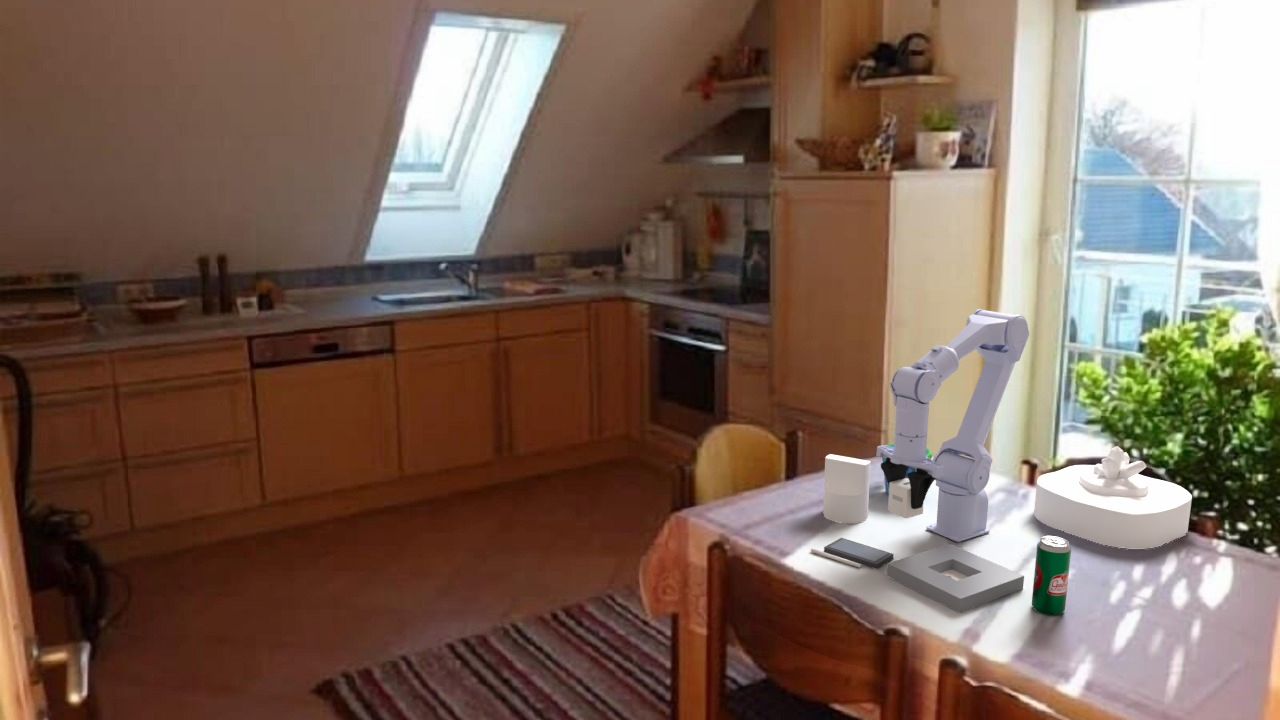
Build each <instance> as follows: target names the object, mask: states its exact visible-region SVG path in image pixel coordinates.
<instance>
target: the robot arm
mask: <svg viewBox="0 0 1280 720" xmlns="http://www.w3.org/2000/svg"><path fill="white" fill-rule="evenodd" d="M1026 319H1027V318H1026V317H1025V316H1023V315H1022V314H1011V313H1004V312H998V311H991V310H986V309H984V308H978V309H975V311H973V313H972V314H970V315H969V316H967V319H966V324H965V327H964V328H963V329H962V330H961V331H960V332H959V333H958V334H957V335H956V336H955V337H954V338H952V340H951V341H950V342H948V343H947V345H934V346H933V347H931V349H930V350H929V351H928V352H927V353H926V354H925V355H923V356H922V357H921V358H919V359H918V360H917V361H916V362H915V363H913V364H911V365H910V366H902V367H901V368H899V369H897V370H896V371H895V372H894V373H893V376H892V379H891V382H890V383H889V387H890V389H889V390H890V391H891V393H892V396H893V404H894V406H895V419H894V420H895V421H894V422H895V423H894V438H893V439H894V440H893V444H894V447H889V446H886V445H887V444H883V445H878V446H877V447H876V457H878V458H882V457H884V458H886V461H885V462H883V461H882V462H880V469H881V470H882V472H883V475H884V474H885V476H886V479H887V482H888V485H889V483H890V482H893V481H897V480H901V479H905V476H906V472H907V469H908V466H909V467H911V468H914V469H916V472H911V473H908V478H909V482H910V487H911V508H912V509H918V508H921V507H922V505H923V506H924V502H925V499H926V496H927V494H928V491H929V490H930V488H931V486H932V484H933V483H934V481H935V486H937V487H938V498H937V511H936V512H937V513H936V523H934V524H929V525H927V526H926V530H928V531H930V532H933V533H935V534H938V535H940V536H942V537H945V538H947V539H950V540H952V541H954V542H957V543H959V542H960V543H961V542H963V541H967V540H970V539H973V538H975V537H978V536H981V535H985V534H988V533H990V529H989V528H987V522H988V521H987V520H988V512H989V511H988V509H989V498H988V495H987V491H986V490H985V488H986V486H987V485H988V483H989V481H990V471H991V470H990V469H991V466H992V463H993V458H992V457H991V455H990V454H989V452H988V450H987V449H986V447H985V444H986V441H987V439H988V436H989V433H990V430H991V427H992V424H993V422H994V420H995V417H996V414H997V412H998V409H999V406H1000V404H1001V402H1002V398H1003V396H1004V394H1005V391H1006V388H1007V386H1008V383H1009V380H1010V378H1011V376H1012V373H1013V370H1014V367H1015V364H1016V363H1017V362H1019V361H1020V359H1021V358H1022V355H1023V351H1024V349H1025V346H1026V344H1027V341H1028V339H1029V336H1030V331H1029V326H1028V325H1029V324H1028V321H1027V320H1026ZM975 350H976V351H977V353H978V354H979V355H980V356H982V357H983V360H984V365H983V366H982V369H981V372H980V375H979V377H978V380H977V382H976V385H975V388H974V390H973V393H972V396H971V397H970V400H969V403H968V406H967V408H966V411H965V413H964V416H963V419H962V421H961V425H960V427H959V429H958V432H957V435H956V436H954V437H952V438H949V439H947V440H945V441H943V442H942V443H941V446H940V448H939V450H938V451H937V453H936V454H935V455H934V456H933V457H932V458H931V459H930V458H929V457H927V456H926V448H927V443H928V427H929V412H930V402H931V401H933V400H934V399H935V397H936V395H937V394H938V390H939V388H941V386H942V383H943V382H944V381H946V380H947V379H948V378H949V377H950V376H951V375H952V374H954V373H955V372H956V371H957V370H958V369H959V364H960V362H959V361H960V360H962V359H963V358H964V357H966V356H968V355H969V354H970V353H972V352H973V351H975Z"/></svg>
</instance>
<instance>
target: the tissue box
mask: <svg viewBox="0 0 1280 720" xmlns="http://www.w3.org/2000/svg"><path fill="white" fill-rule="evenodd" d="M1130 459H1131V458H1130V456H1129V453H1127V452H1124V450H1123V449H1122V448H1120V447H1119V446H1118V445H1117V446H1114V447H1113V448H1111V449H1110V451H1109V453H1108V455H1107V456H1106V458H1102V459H1101V463H1096V464H1075V465H1070V466H1067V467H1064V468H1062V469H1060V470H1057V471H1052V472H1047V473H1044V474H1041V475H1040V476H1038V478H1037V480H1036V488H1035V489H1036V491H1035V500H1034V510H1033V511H1034V512H1033V515H1034V518H1035V519H1036V520H1038V521H1039V522H1040V523H1042V524H1043V525H1045V524H1046V525H1045V526H1048V527H1050V528H1053V529H1056V530H1057V529H1058V531H1060V530H1061V532H1063V531H1064V533H1066V534H1068V535H1071V534H1072V536H1074V535H1075V537H1077V536H1078V537H1077V538H1080V537H1081V538H1080V539H1083V538H1084V539H1083V540H1085V539H1087V540H1086V541H1088V540H1090V541H1089V542H1091V541H1093V542H1092V543H1094V542H1096V543H1095V544H1097V543H1099V544H1098V545H1101V544H1102V545H1101V546H1105V545H1108V546H1107V547H1109V546H1114V547H1125V548H1150V547H1155V546H1158V545H1161V544H1163V543H1166V542H1168V541H1170V540H1172V539H1174V538H1176V537H1178V536H1180V535H1182V534H1185V533H1187V534H1188V530H1189V523H1190V515H1191V507H1192V500H1193V495H1192V494H1191V493H1190V492H1189V491H1188V490H1187V489H1185V488H1184V487H1182V486H1181V485H1178V484H1176V483H1174V482H1170V481H1166V480H1163V479H1162V480H1161V479H1158V478H1153V477H1149V476H1145V475H1142V474H1139V473H1140V472H1142V471H1143V470H1144V469H1146V468H1147V467H1148V466H1147V464H1146V463H1145V462H1144V461H1143V460H1137V461H1133V462H1131V463H1130ZM1114 547H1113V548H1114Z"/></svg>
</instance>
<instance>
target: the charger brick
mask: <svg viewBox="0 0 1280 720" xmlns="http://www.w3.org/2000/svg"><path fill="white" fill-rule="evenodd" d="M887 502H888V504H887V511H888V512H890V513H892V514H894V515H896V516H899V517H901V518H903V519H909V518H914V517H916V516H920V515H923V514H924V504H923V505H922V507H921V508H918V509H912V508H911V487H910V482H909V479H908V478H905V479H901V480H897V481H893V482H890V483H889V495H888V501H887Z"/></svg>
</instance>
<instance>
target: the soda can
mask: <svg viewBox="0 0 1280 720" xmlns="http://www.w3.org/2000/svg"><path fill="white" fill-rule="evenodd" d="M1071 555H1072V549H1071V547H1070V542H1069V540H1067V539H1066V538H1063V537H1059V536H1053V535H1046V536H1045V535H1044V536H1042V537H1040V538H1039V542H1037V545H1036V553H1035V564H1034V565H1035V566H1034V573H1033V574H1034V575H1033V585H1032V586H1033V587H1032V595H1031V606H1032V607H1033V609H1034V611H1037V612H1038V613H1040V614H1041V615H1045V614H1046V616H1058V615H1062V613H1064V612H1065V610H1066V605H1067V593H1068V584H1069V583H1068V582H1069V575H1070V574H1069V573H1070V566H1071V565H1070V564H1071Z"/></svg>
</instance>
